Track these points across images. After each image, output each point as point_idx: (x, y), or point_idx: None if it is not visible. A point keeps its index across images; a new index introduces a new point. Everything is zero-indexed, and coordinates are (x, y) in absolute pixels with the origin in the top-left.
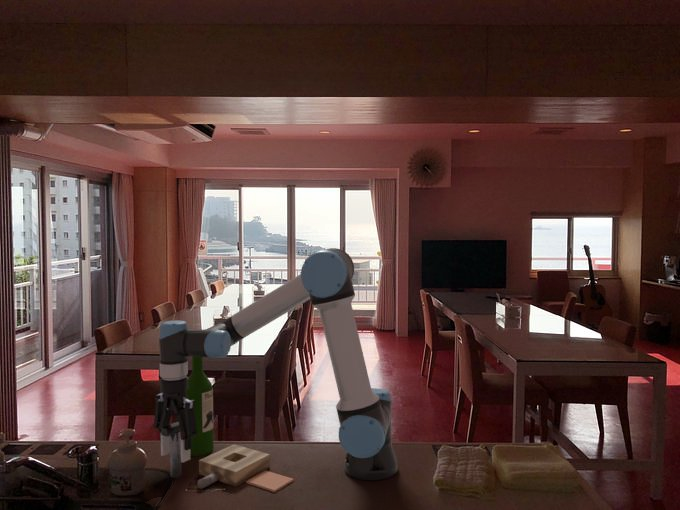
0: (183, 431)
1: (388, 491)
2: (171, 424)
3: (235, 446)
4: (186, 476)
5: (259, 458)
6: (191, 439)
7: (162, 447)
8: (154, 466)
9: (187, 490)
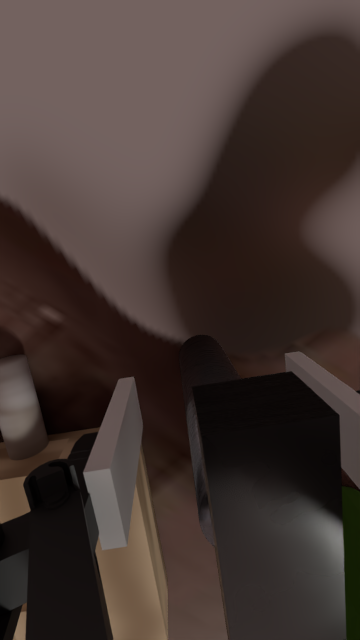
0: (44, 554)
1: None
2: (326, 569)
3: (141, 634)
4: (159, 378)
5: None
6: (346, 555)
7: (309, 372)
8: (347, 343)
9: (39, 311)
